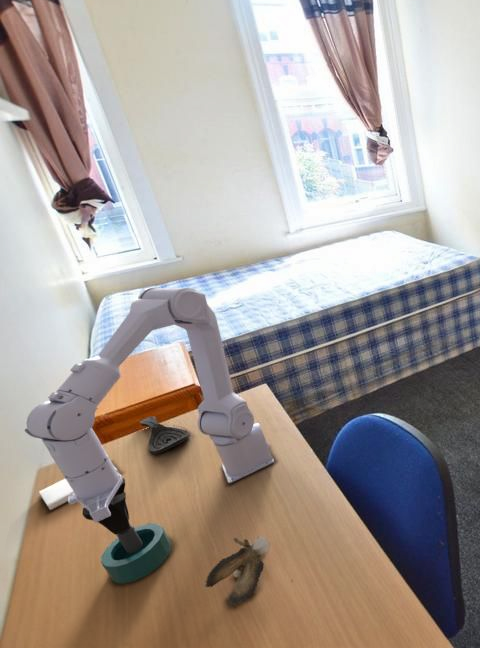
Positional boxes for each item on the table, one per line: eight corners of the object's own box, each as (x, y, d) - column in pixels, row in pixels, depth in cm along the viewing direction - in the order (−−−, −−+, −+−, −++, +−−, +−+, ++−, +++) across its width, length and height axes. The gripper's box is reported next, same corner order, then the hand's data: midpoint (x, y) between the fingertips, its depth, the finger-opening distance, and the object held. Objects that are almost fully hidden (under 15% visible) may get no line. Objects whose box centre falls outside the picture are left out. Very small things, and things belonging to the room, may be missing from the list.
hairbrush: (158, 404, 130) (192, 429, 115) (164, 415, 131) (198, 441, 116) (123, 420, 124) (154, 449, 109) (129, 432, 125) (160, 461, 110)
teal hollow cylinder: (169, 531, 91) (160, 515, 89) (173, 561, 84) (164, 544, 83) (111, 559, 86) (101, 543, 84) (111, 593, 79) (100, 577, 78)
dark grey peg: (142, 539, 85) (116, 494, 81) (143, 548, 84) (116, 502, 79) (126, 547, 84) (99, 502, 80) (127, 556, 82) (98, 510, 78)
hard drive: (41, 496, 104) (108, 462, 113) (51, 511, 99) (120, 474, 108) (38, 491, 103) (105, 456, 112) (47, 505, 99) (117, 468, 108)
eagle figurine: (226, 555, 83) (196, 596, 74) (240, 523, 82) (211, 561, 73) (268, 569, 84) (243, 612, 75) (282, 538, 83) (259, 577, 74)
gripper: (58, 456, 80) (94, 514, 85) (50, 503, 69) (92, 567, 74) (109, 436, 83) (141, 493, 89) (109, 478, 73) (145, 540, 78)
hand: (122, 525), depth 82 cm, fingers closed on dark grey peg, 2 cm apart
